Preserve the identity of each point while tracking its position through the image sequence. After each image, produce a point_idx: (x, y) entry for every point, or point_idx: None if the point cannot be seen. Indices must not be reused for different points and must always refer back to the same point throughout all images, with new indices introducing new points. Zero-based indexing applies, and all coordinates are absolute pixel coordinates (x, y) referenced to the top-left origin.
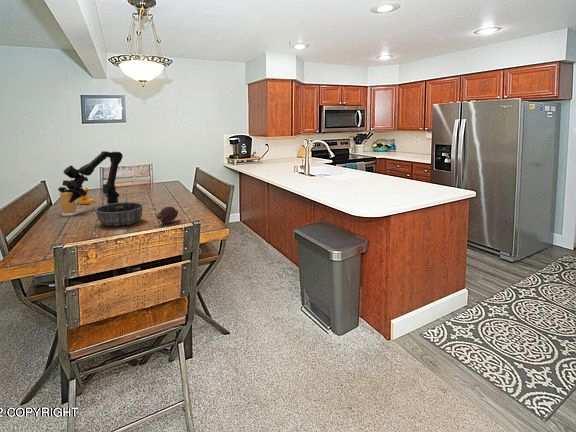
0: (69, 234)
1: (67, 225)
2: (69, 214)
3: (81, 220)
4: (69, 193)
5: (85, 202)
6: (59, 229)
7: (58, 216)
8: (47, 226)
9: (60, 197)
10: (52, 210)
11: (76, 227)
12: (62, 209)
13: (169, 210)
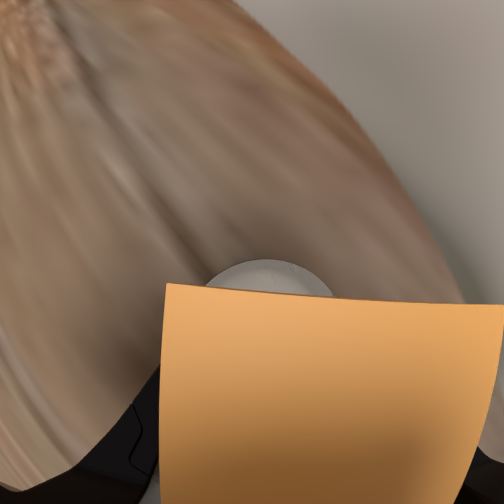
0: (13, 4)
1: (59, 55)
2: (214, 278)
3: (26, 170)
4: (159, 434)
5: None
6: (69, 8)
7: (333, 255)
8: (167, 9)
9: (424, 302)
10: (500, 409)
11: (8, 56)
12: (329, 296)
13: None
